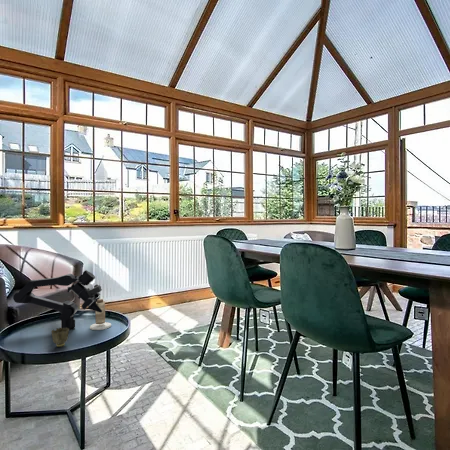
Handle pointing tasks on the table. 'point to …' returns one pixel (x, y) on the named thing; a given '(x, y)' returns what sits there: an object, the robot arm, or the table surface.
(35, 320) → the table surface
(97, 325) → the plate
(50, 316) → the table surface
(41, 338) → the table surface
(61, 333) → the cup
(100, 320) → the pepper mill
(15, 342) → the table surface
